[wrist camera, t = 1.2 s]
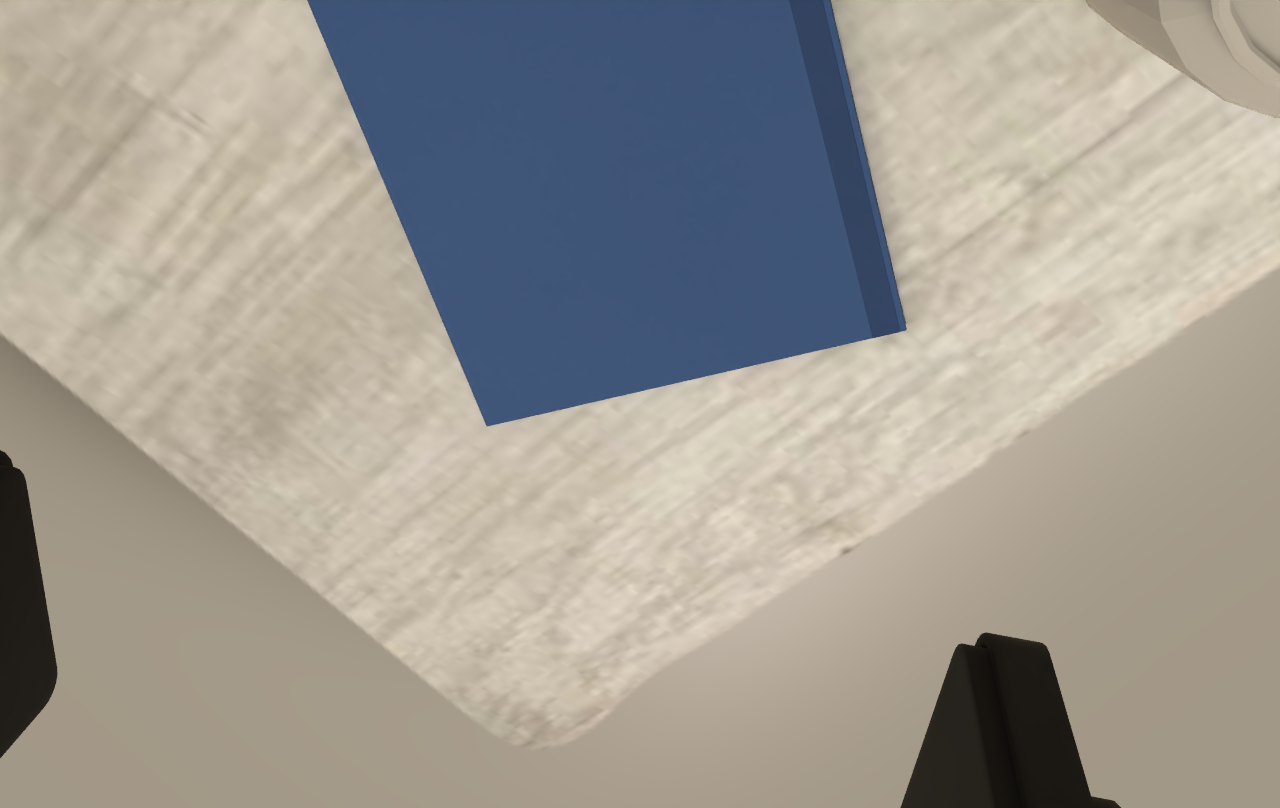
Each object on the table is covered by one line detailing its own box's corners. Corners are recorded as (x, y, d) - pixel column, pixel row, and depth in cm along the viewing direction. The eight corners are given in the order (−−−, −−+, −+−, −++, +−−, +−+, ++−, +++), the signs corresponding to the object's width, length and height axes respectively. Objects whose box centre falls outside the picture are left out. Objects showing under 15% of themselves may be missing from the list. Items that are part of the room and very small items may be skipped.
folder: (259, -126, 35) (253, -126, 34) (756, -321, 31) (754, -322, 30) (489, 421, 43) (486, 427, 42) (906, 326, 39) (906, 331, 38)
